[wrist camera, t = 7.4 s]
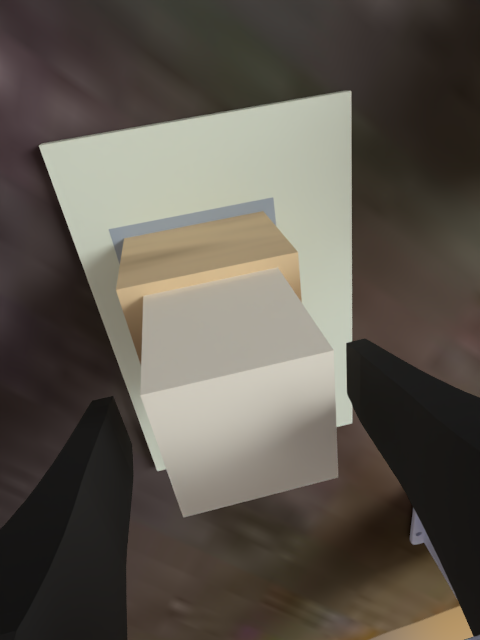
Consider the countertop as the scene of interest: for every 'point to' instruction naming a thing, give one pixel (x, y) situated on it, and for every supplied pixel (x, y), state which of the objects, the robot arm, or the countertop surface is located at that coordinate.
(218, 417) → the cream block
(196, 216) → the plate
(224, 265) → the oak block
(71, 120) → the countertop surface
